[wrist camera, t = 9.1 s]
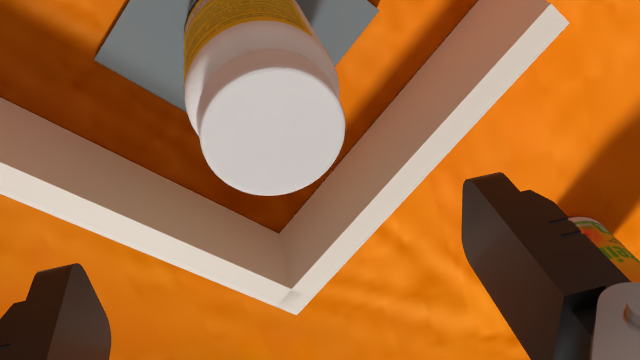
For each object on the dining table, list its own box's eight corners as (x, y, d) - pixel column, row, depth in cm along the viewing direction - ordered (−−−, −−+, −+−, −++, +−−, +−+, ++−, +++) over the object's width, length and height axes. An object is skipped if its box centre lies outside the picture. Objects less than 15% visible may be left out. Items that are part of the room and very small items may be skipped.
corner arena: (515, -6, 23) (569, 22, 20) (283, 258, 29) (296, 315, 25) (164, -360, 15) (158, -407, 12) (-65, 96, 21) (-112, 147, 17)
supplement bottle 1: (157, 28, 21) (142, 131, 14) (251, -57, 20) (286, 8, 13) (241, 112, 23) (265, 235, 16) (328, 41, 22) (392, 139, 16)
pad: (377, 8, 22) (379, 10, 22) (263, 152, 25) (264, 156, 25) (208, -130, 19) (208, -130, 18) (94, 57, 21) (93, 59, 21)
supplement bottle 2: (620, 220, 32) (762, 350, 24) (572, 287, 35) (687, 426, 27) (548, 207, 31) (675, 343, 23) (503, 279, 33) (603, 424, 25)
